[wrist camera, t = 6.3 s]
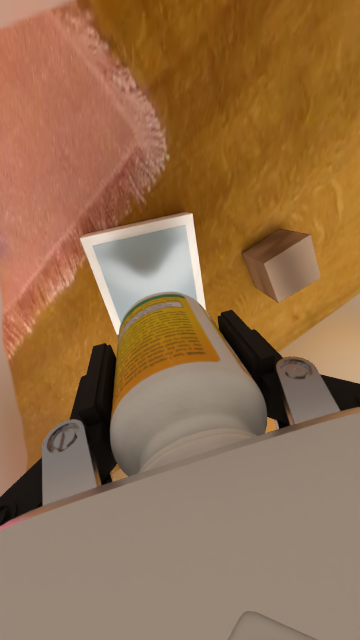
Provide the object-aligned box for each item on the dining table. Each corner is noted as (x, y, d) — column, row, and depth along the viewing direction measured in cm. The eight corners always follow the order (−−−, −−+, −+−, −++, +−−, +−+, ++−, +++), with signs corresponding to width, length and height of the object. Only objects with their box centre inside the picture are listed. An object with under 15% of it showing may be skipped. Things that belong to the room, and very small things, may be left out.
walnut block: (279, 228, 26) (310, 234, 21) (290, 265, 28) (320, 277, 24) (241, 253, 26) (263, 263, 22) (255, 287, 28) (278, 302, 24)
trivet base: (185, 211, 23) (192, 213, 20) (198, 300, 28) (206, 311, 25) (85, 233, 22) (79, 238, 19) (118, 321, 27) (116, 335, 24)
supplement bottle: (224, 312, 14) (371, 483, 5) (179, 376, 15) (239, 583, 7) (145, 271, 12) (188, 446, 3) (102, 350, 13) (59, 601, 5)
